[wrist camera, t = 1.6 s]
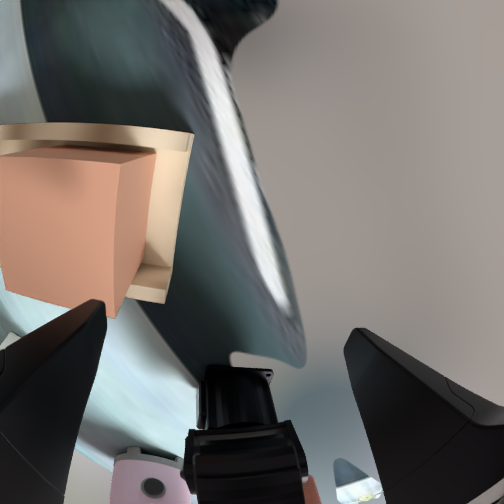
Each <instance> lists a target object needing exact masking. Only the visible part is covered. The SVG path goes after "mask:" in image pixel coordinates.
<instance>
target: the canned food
mask: <svg viewBox="0 0 504 504" xmlns="http://www.w3.org/2000/svg"><path fill="white" fill-rule="evenodd" d="M303 490H304V497H305V504H322V503H321V500H320V497H319V494H318V490H317V487H316V484H315V481H314V476H312V475H308V481H307V482H306V483H303Z"/></svg>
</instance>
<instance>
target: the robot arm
mask: <svg viewBox="0 0 504 504" xmlns="http://www.w3.org/2000/svg"><path fill="white" fill-rule="evenodd" d="M106 332H107V316H106V305H105V302H104V301H102V300H97V299H90V300H88V301H86V302H84V303H82V304H80V305H79V306H77V307H75V308H73V309H71V310H69V311H68V312H66V313H64V314H62V315H60V316H59V317H57V318H55V319H53V320H52V321H50V322H48V323H46V324H45V325H43V326H41V327H39V328H38V329H36V330H34V331H32V332H31V333H29V334H27V335H25V336H24V337H22V338H20V339H19V340H17V341H15V342H13V343H12V344H10V345H8V346H7V347H5V349H2V350H0V504H63V503H64V494H65V490H66V484H67V479H68V474H69V469H70V465H71V460H72V456H73V451H74V447H75V443H76V439H77V436H78V432H79V428H80V425H81V421H82V418H83V414H84V411H85V408H86V404H87V401H88V398H89V395H90V392H91V389H92V386H93V383H94V380H95V376H96V373H97V369H98V365H99V360H100V356H101V352H102V347H103V343H104V339H105V336H106ZM344 356H345V361H346V365H347V369H348V374H349V378H350V382H351V387H352V390H353V394H354V397H355V400H356V403H357V406H358V409H359V411H360V415H361V418H362V421H363V424H364V427H365V430H366V434H367V437H368V440H369V443H370V447H371V450H372V453H373V457H374V460H375V463H376V467H377V470H378V474H379V477H380V481H381V485H382V488H383V491H384V496H385V500H386V504H504V407H502V406H499V405H497V404H494V403H493V402H491V401H489V400H487V399H485V398H483V397H481V396H479V395H477V394H474V393H473V392H471V391H469V390H467V389H465V388H464V387H462V386H460V385H458V384H457V383H455V382H453V381H452V380H450V379H448V378H447V377H444V376H443V375H442V374H440V373H438V372H437V371H435V370H433V369H432V368H430V367H429V366H427V365H425V364H424V363H422V362H420V361H419V360H417V359H415V358H414V357H412V356H410V355H409V354H407V353H405V352H404V351H402V350H401V349H399V348H397V347H396V346H394V345H392V344H391V343H389V342H388V341H386V340H384V339H382V338H381V337H379V336H378V335H376V334H375V333H373V332H371V331H370V330H368V329H366V328H354V329H353V330H352V332H351V334H350V336H349V338H348V340H347V342H346V344H345V346H344ZM268 373H269V374H268ZM273 375H274V373H273V370H271V369H261V368H244V367H230V366H219V365H208V366H206V368H205V373H204V379H203V381H200V382H199V384H198V390H197V396H196V417H197V428H198V429H203V430H195V429H189V432H188V436H187V437H186V439H185V454H184V459H183V463H182V466H181V470H180V477H181V478H182V479H183V480H185V481H186V484H187V486H188V489H189V491H190V493H191V494H197V500H198V504H305V497H304V490H303V483H306V482H307V481H308V466H307V461H306V456H305V453H304V450H303V448H302V445H301V443H300V441H299V439H298V436H297V434H296V432H295V429H294V427H293V425H292V422H291V420H285V421H284V422H279V423H278V419H277V415H276V411H275V407H274V403H273V399H272V395H271V391H270V387H269V385H270V382H271V379H272V377H273Z"/></svg>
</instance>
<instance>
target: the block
mask: <svg viewBox="0 0 504 504" xmlns="http://www.w3.org/2000/svg"><path fill="white" fill-rule="evenodd" d="M156 155H157V153H150V152H142V151H134V150H124V149H114V148H103V147H90V146H75V145H57V146H50V147H43V148H37V149H31V150H25V151H20V152H15V153H10V154H5V155H0V262H1V268H2V274H3V279H4V284H5V288H6V290H7V291H10V292H14V293H17V294H20V295H23V296H26V297H30V298H33V299H36V300H40V301H43V302H47V303H51V304H54V305H58V306H62V307H66V308H70V309H73V308H75V307H77V306H79V305H80V304H82V303H84V302H86V301H88V300H90V299H97V300H102V301H104V302H105V305H106V316H107V317H109V318H114V319H115V317H116V315H117V313H118V310H119V308H120V306H121V304H122V302H123V300H124V297H125V295H126V293H127V291H128V289H129V287H130V285H131V283H132V281H133V278H134V276H135V274H136V272H137V270H138V268H139V266H140V264H141V262H142V260H143V258H144V251H145V239H146V228H147V219H148V210H149V202H150V194H151V187H152V180H153V173H154V167H155V161H156Z"/></svg>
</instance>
